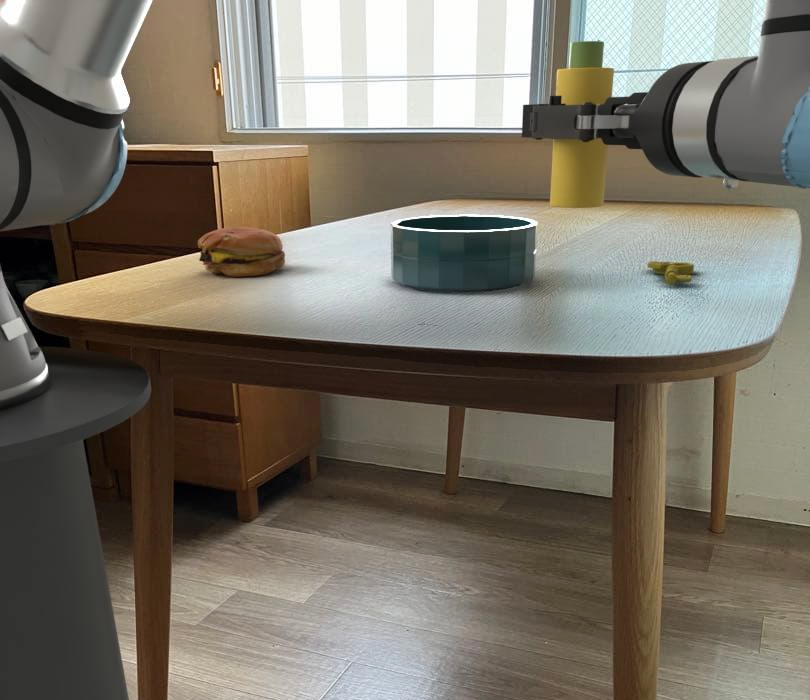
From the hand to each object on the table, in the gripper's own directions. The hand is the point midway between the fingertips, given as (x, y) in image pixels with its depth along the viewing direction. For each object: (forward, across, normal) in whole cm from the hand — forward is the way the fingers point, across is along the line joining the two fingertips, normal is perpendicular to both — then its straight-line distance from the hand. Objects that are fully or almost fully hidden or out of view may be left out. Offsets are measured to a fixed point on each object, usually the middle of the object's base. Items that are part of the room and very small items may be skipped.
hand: (553, 120), depth 82 cm
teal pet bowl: (+9, -5, -16) cm, 19 cm away
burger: (+26, -26, -16) cm, 40 cm away
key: (+2, +16, -16) cm, 23 cm away
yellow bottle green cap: (-5, 0, -7) cm, 9 cm away
